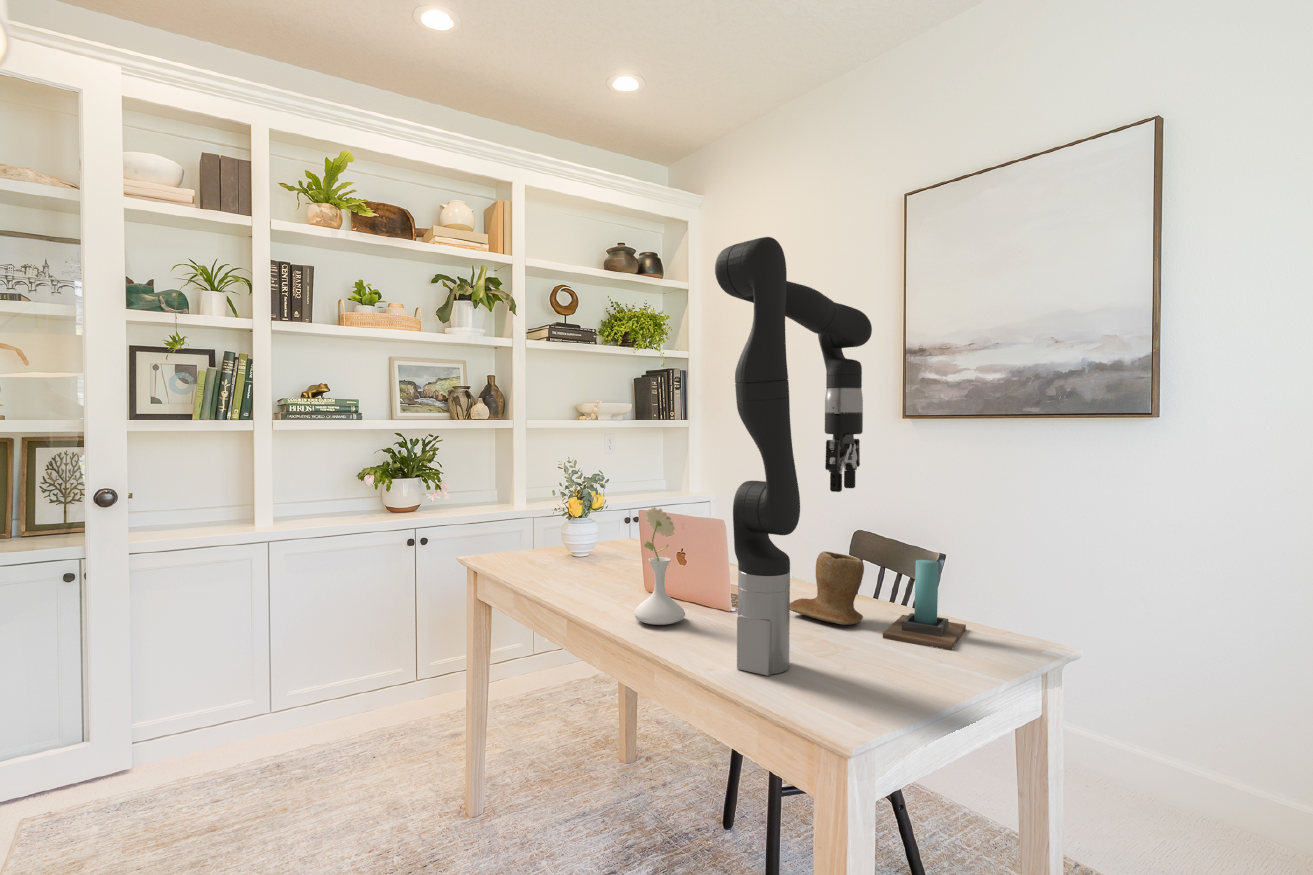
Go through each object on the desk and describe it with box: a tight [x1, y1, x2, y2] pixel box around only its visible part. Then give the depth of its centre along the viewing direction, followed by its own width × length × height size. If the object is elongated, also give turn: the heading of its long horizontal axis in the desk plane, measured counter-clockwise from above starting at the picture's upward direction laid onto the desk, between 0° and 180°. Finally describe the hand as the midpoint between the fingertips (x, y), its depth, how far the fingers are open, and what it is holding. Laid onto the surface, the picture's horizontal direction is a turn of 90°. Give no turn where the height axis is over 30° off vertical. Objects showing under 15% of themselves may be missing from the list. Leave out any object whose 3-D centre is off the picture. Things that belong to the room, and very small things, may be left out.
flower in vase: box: [633, 506, 686, 626], centre depth 147 cm, size 13×11×25 cm
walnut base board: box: [882, 612, 967, 651], centre depth 138 cm, size 16×13×3 cm
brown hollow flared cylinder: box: [790, 551, 865, 625], centre depth 149 cm, size 15×12×15 cm
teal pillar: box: [914, 559, 939, 626], centre depth 138 cm, size 4×4×14 cm
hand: (842, 489), depth 137 cm, fingers open, 8 cm apart
